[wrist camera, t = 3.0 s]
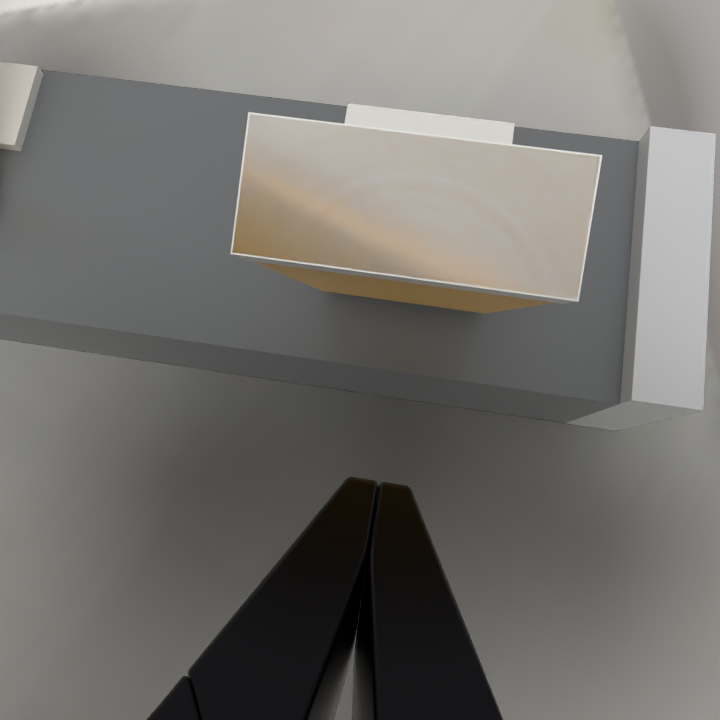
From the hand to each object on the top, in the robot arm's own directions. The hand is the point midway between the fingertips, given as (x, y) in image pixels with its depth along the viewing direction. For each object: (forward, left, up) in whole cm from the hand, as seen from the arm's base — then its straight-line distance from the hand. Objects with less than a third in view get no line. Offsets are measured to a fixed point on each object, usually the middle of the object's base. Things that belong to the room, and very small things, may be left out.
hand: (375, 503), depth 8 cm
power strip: (+7, +6, -11) cm, 14 cm away
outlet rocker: (+6, 0, -6) cm, 8 cm away
